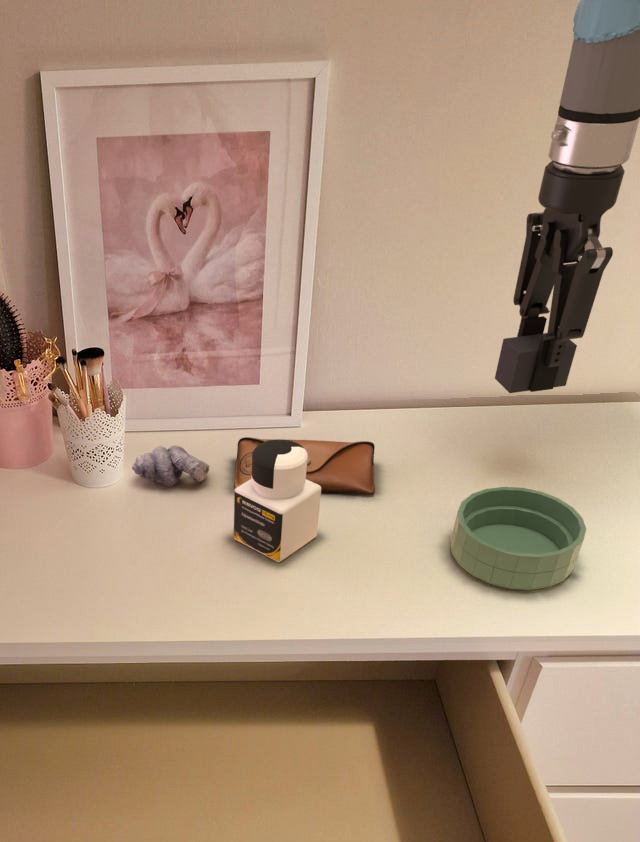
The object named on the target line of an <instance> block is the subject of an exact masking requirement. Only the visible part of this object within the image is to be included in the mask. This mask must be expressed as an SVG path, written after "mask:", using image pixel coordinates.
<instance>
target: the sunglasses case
mask: <svg viewBox="0 0 640 842" xmlns="http://www.w3.org/2000/svg"><path fill="white" fill-rule="evenodd" d="M269 440H276V439H273V438H272V439H269V438H266V439H265V438H257V437H252V436H251V437H250V436H249V437H248V436H245V437H241V438H240V439H238V442H237V450H236V451H237V452H236V459H235V460H236V461H235V470H234V475H235V476H234V490H235V489H236V488H237V487H239V486H240V485H242V484H244V483H245V482H247V481H249V480H250V479H251V475H252V453H253V450H254V449H255V448H256V447H257V446H258V445H259V444H261V443H263V442H266V441H269ZM289 440H290V441H293V442H296V443H298V444H300V445H301V446H302V447H303V448H304V449H305V450H306V452H307V454H308V457H307V469H306V479H307V480H309V481H311V482H313V483H315V484H318V485H320V486H321V493H324V494H325V493H327V494H373V493H375V492H376V486H375V462H374V461H375V443H374V442H372V441H368V440H367V441H366V440H360V441H354V442H352V441H350V442H349V441H334V440H318V439H317V440H316V439H315V440H314V439H289Z"/></svg>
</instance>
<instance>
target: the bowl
mask: <svg viewBox="0 0 640 842" xmlns="http://www.w3.org/2000/svg"><path fill="white" fill-rule="evenodd" d="M586 532H587V527H586V524H585V520H584V518H583V516H582V515H581V514H580V513H579V512H578V511H577V510H576V508H574V507H573V506H572V505H570V504H568V503H567V502H565V501H564V500H562V499H561V498H559V497H556V496H554V495H551V494H548V493H547V492H543V491H540V490H536V489H532V488H527V487H515V486H499V487H498V486H497V487H491V488H484V489H482V490H479V491H475V492H473V493H471V494H469V495H468V496H467V497H466V498H464V499H463V500H462V501H461V502H460V504H459V507H458V509H457V512H456V516H455V521H454V525H453V529H452V533H451V538H450V551H451V555H452V556H453V557H454V559H455V561H456V562H457V564H458V565H459V567H461V568H463V570H464V571H466V572H468V573H469V574H470V575H471V576H473V577H474V578H476V579H478V580H480V581H482V582H485V583H486V584H490V585H491V586H495V587H498V588H504V589H509V590H516V591H517V590H518V591H529V590H537V589H544V588H549V587H552V586H554V585H555V586H556V585H557V584H559V583H561V582H563V581H564V580H566V579H567V578H568V577H569V576H570V575H571V574H572V573H573V571H574V568H575V566H576V563H577V560H578V557H579V555H580V552H581V550H582V549H581V548H582V545H583V543H584V540H585V537H586Z"/></svg>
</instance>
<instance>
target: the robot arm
mask: <svg viewBox="0 0 640 842" xmlns="http://www.w3.org/2000/svg"><path fill="white" fill-rule="evenodd" d="M579 1H580V2H579ZM579 1H578V3H577V5H578V6H577V5H576V8H577V9H576V8H575V12H574V14H575V15H574V16H573V22H574V26H573V25H572V32H574V33H573V34H572V35H573V36H572V37H573V40H572V45H571V50H570V54H569V59H568V64H567V69H566V73H565V77H564V83H563V87H562V91H561V96H560V101H559V107H558V110H557V116H556V121H555V124H554V128H553V131H552V132H551V141H550V147H549V150H548V155H547V156H548V159H550V162H548V164H547V165H546V166H545V167H544V170H543V175H542V179H541V183H540V188H539V192H538V197H537V199H538V203H539V204H540V206H542V207H543V208H544V209H543V211H541V212H532V213H528V215H527V216H526V227H525V240H524V245H523V249H522V255H521V260H520V265H519V270H518V274H517V279H516V284H515V288H514V289H515V290H514V293H513V301H512V302H513V304H514V306H518V307H519V316H520V317H521V318H520V322H519V327H518V332H517V335H516V337H521V336H528V335H536V334H541V340H540V344H539V348H538V353H537V357H536V361H535V365H534V369H533V373H532V377H531V380H530V384H529V388H528V390H530V391H529V392H530V393H533V392H535V393H536V392H541V391H550V390H553V389H554V388H555V387H554V383H555V380H556V376H557V372H558V369H559V366H560V364H561V363H562V359H563V355H564V352H565V348H566V344H567V341H568V340H569V339H570V340H575V339H582V338H583V337H584V334H585V332H586V329H587V326H588V322H589V319H590V316H591V313H592V310H593V308H594V307H593V306H594V303H595V301H596V297H597V294H598V291H599V287H600V283H601V281H602V277H603V274H604V271H605V269H606V268H607V266H608V264H609V263H610V261H611V259H612V257H613V255H614V251H613V247H611V246H605V247H603V245H602V244H601V242H600V240H599V238H600V235H601V222H602V221H601V220H602V217H603V216H604V214H605V213H606V212H608V211H609V210H610V209H612V208H613V207H614V206H615V205H616V203H617V200H618V197H619V194H620V193H619V192H620V189H621V186H622V182H623V180H624V176H625V169H624V166H623V165H624V164H625V163H626V162H628V161H629V159H630V156H631V152H632V149H633V146H634V141H635V138H636V134H637V131H638V127H639V124H640V0H579ZM573 22H572V23H573ZM551 294H552V297H551ZM550 297H551V305H550V309H549V308H548V306H547V305H548V303H549V300H550ZM545 314H549V317H548V318H549V319H548V318H547V317H546V316H544V315H545ZM540 315H541V316H540ZM547 320H548V321H547ZM547 322H548V326H547V331H546V332H545V328H546V325H547Z"/></svg>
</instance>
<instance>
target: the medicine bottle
mask: <svg viewBox="0 0 640 842" xmlns="http://www.w3.org/2000/svg"><path fill="white" fill-rule="evenodd" d="M290 440H291V439H284V438H283V439H281V438H280V439H279V438H278V439H277V438H276V439H275V440H273V439H272V440H269V441H266V442H263V443H261V444H259V445H258V446H257V447H256V448H255V449H254V450H253V453H252V475H251V479H250V480H249V481H247V482H245V483H244V484H242V485H240V486H239V487H237V488H236V489H235V488H234V496H233V502H234V504H233V505H234V506H233V539H234V540H235V541H237V542H239V543H240V544H243V545H244V546H246V547H248V548H250V549H252V550H254V551H256V552H258V553H260V554H261V555H264V556H265V557H267V558H269V559H271V560H273V561H274V562H276V563H280V562H282V561H284V560H286V558H288V557H289V556H291V555H292V554H294V553H295V552H297V551H298V550H299V549H301V548H302V547H304V546H305V545H306V544H308V543H309V542H311V541H312V540H314V539H315V538H316V537H317V535H318V527H319V516H320V505H321V495H322V492H321V486H320V485H318V484H315V483H313V482H311V481H309V480H307V479H306V469H307V457H308V454H307V452H306V450H305V449H304V448H303V447H302V446H301V445H300V444H298V443H296V442H293V441H290Z"/></svg>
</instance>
